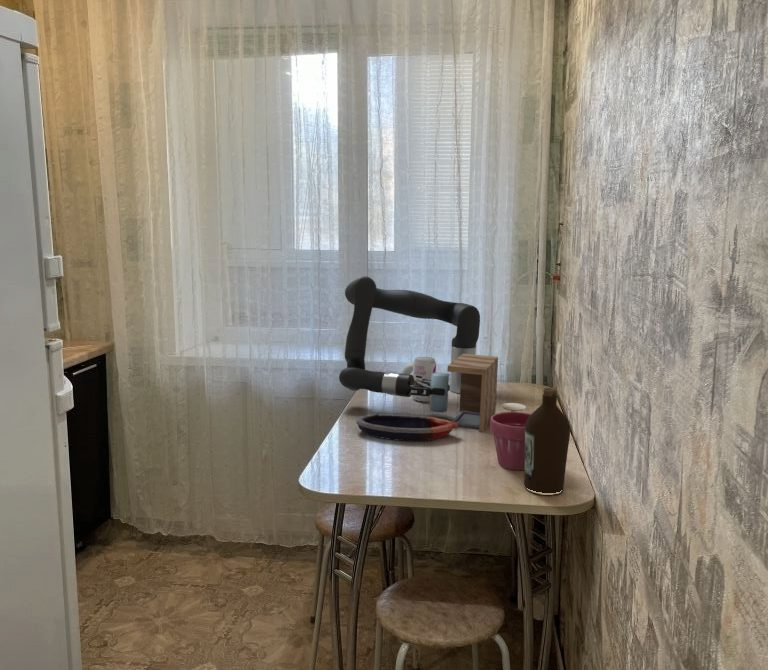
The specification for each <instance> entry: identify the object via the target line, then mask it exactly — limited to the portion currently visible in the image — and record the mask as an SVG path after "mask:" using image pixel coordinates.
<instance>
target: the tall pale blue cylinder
mask: <svg viewBox="0 0 768 670" xmlns="http://www.w3.org/2000/svg"><path fill="white" fill-rule="evenodd" d="M449 384H450V374H448V373H447V372H436V373H432V378H431V387H433V389H434V388H442V389H445V395H444V396H440V395H431V399H430V402H429V411H430V412H433V413H446V412H448V403H449V399H448V398H449V391H448V385H449Z"/></svg>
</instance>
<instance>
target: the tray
mask: <svg viewBox="0 0 768 670" xmlns="http://www.w3.org/2000/svg"><path fill="white" fill-rule="evenodd" d="M451 422H455V423H457V424H458V427H459V428H467V429H474V430H479V424H480V413H476V412H468V411H459V413H458V415H457V416H456V417H455V418H454V419H453V420H452V421H451Z"/></svg>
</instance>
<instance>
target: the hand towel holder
mask: <svg viewBox="0 0 768 670" xmlns="http://www.w3.org/2000/svg"><path fill="white" fill-rule="evenodd" d="M500 406H501V407H502V408H503V410H507V411H508V412H523V411H524V410H525V409H526V408H527V407H526V405H525V404H521V403H518V402H506V403H502V404H500Z"/></svg>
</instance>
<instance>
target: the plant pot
mask: <svg viewBox="0 0 768 670" xmlns="http://www.w3.org/2000/svg"><path fill="white" fill-rule="evenodd" d="M531 414H532V413H527V412H523V411H516V412H511V411H505V412H497V413H495V415H493V416H492V417H491V420H490V423H489V425H490V426H489V428H490V429H489V430H490V433H491V434H492V435H493V438H494V439H493V440H494V441H493V442H494V446H495V447H494V448H495V452H496V457H497V462H498V465H499V466H500V467H501V468H504V467H505V468H504V469H506V468H509V469H508V470H511V469H525V425H526V422H527V419H528V417H529V416H530V415H531Z"/></svg>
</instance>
